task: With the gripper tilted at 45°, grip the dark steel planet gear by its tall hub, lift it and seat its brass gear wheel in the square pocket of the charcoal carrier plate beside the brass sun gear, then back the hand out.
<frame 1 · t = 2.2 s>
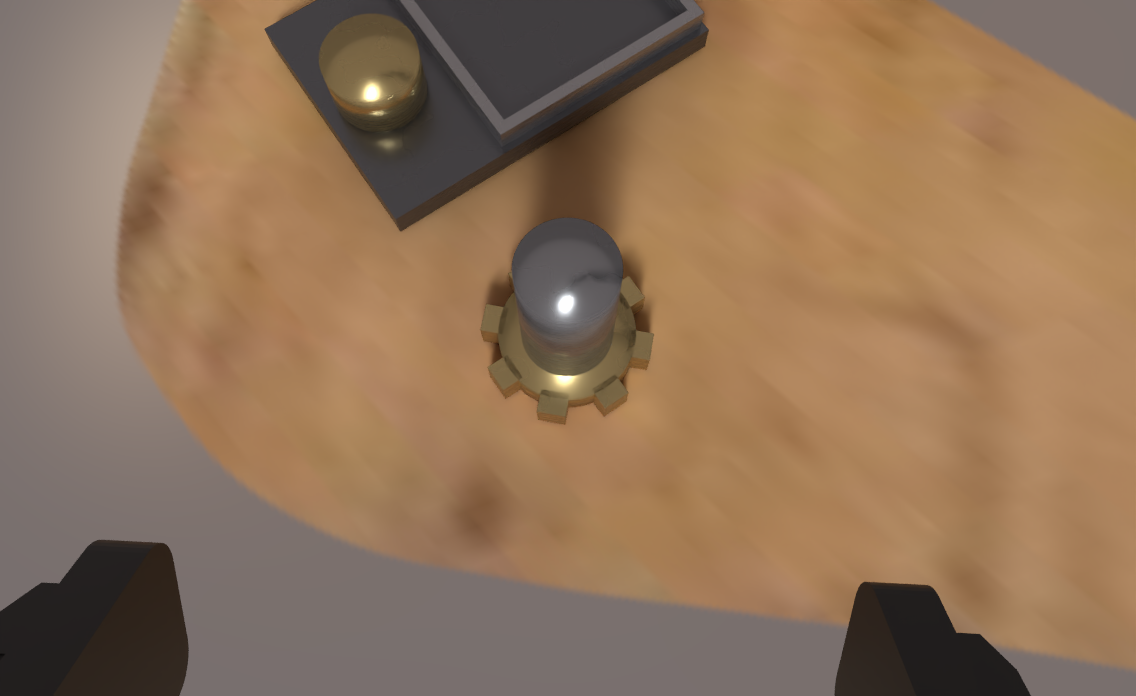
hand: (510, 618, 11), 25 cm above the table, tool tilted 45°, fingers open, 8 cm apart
planet gear: (567, 342, 38), on the table
carrier: (488, 46, 42), on the table
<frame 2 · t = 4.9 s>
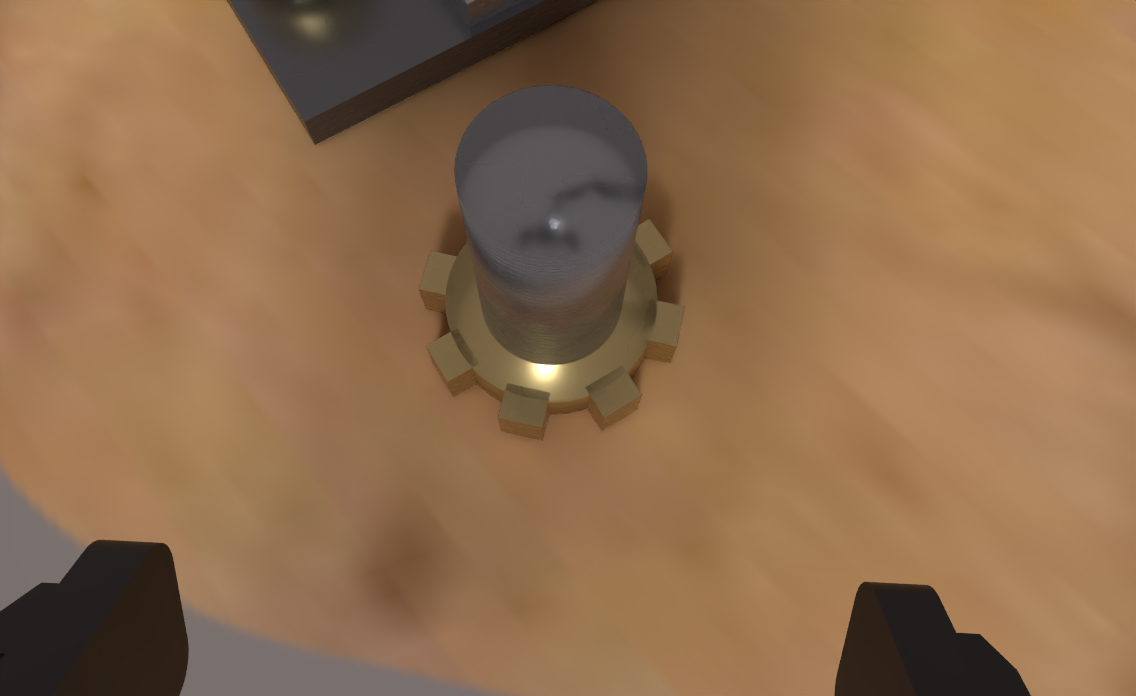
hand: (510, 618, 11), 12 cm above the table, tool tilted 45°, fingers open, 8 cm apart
planet gear: (551, 316, 25), on the table
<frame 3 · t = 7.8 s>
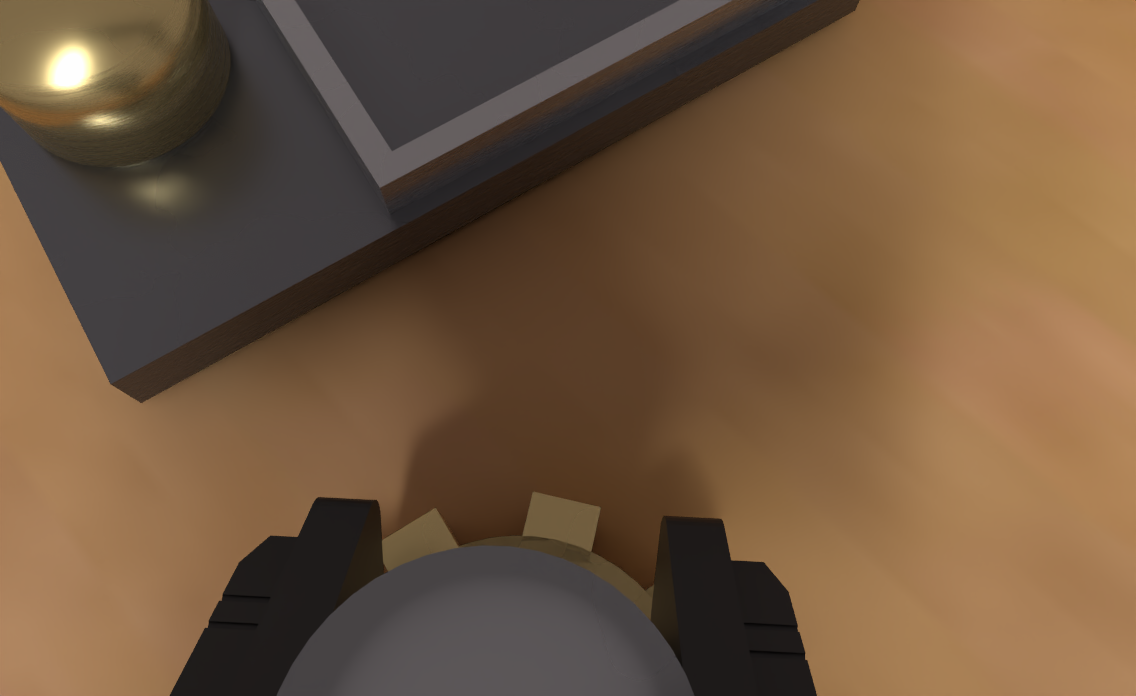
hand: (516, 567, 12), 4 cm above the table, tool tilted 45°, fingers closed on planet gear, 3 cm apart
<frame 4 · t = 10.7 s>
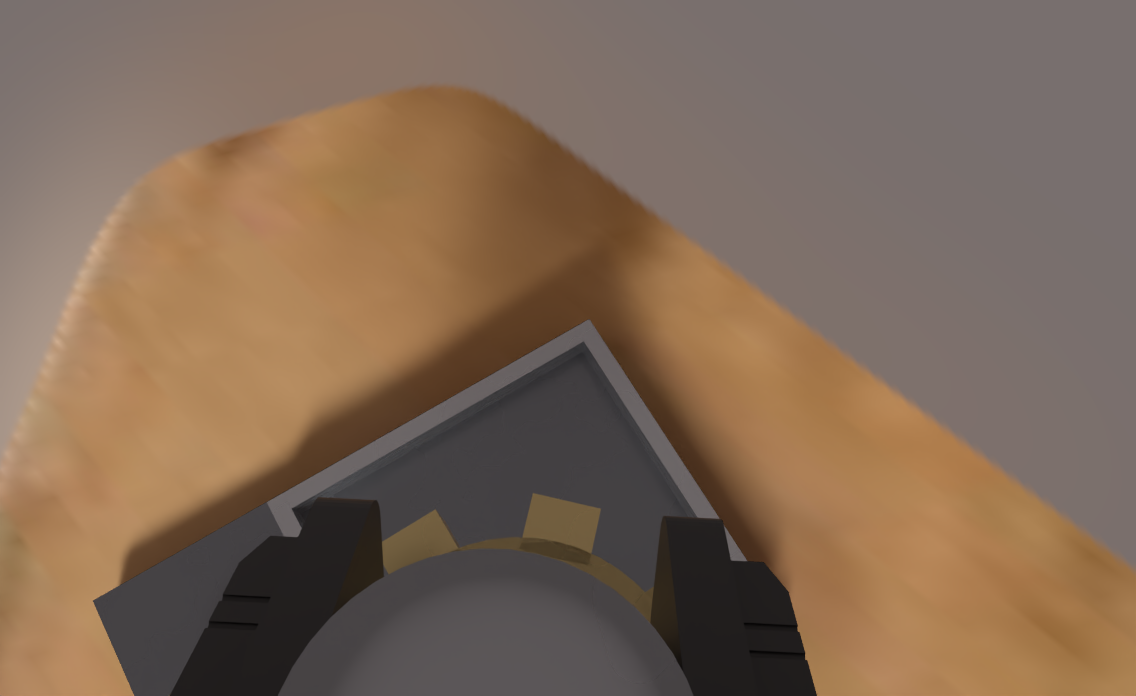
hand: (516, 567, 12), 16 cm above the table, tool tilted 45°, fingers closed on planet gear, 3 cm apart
carrier: (450, 622, 27), on the table
when the fingers open (6 cm above the table, at t = 14.0 s): planet gear drops 1 cm, resting on carrier.
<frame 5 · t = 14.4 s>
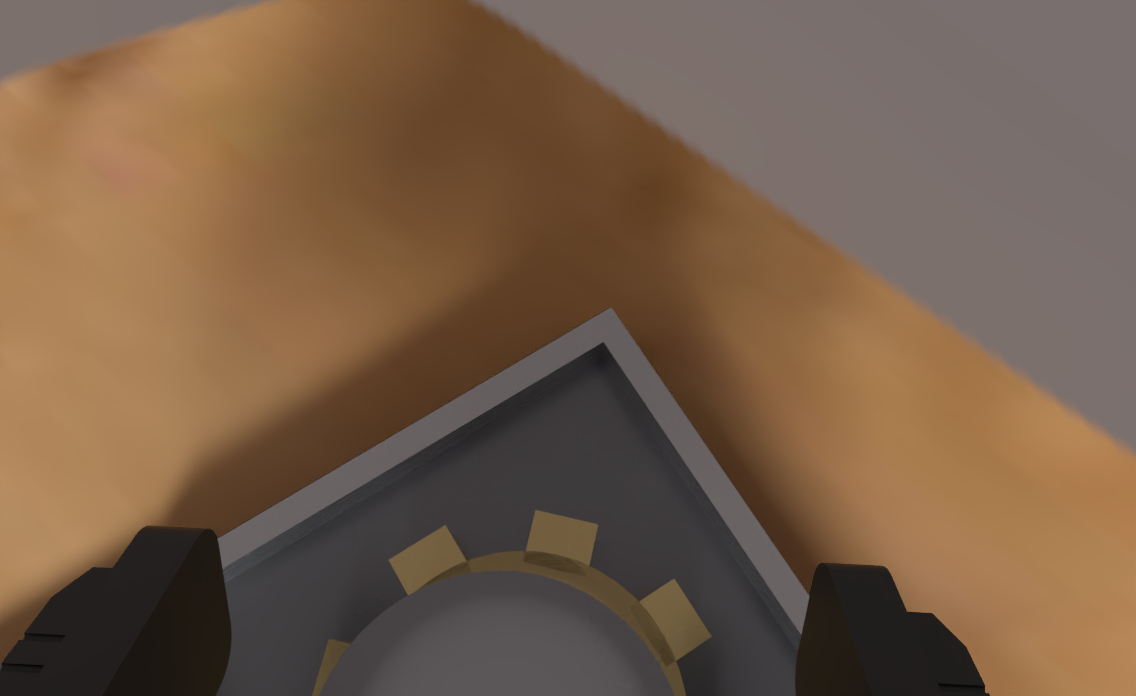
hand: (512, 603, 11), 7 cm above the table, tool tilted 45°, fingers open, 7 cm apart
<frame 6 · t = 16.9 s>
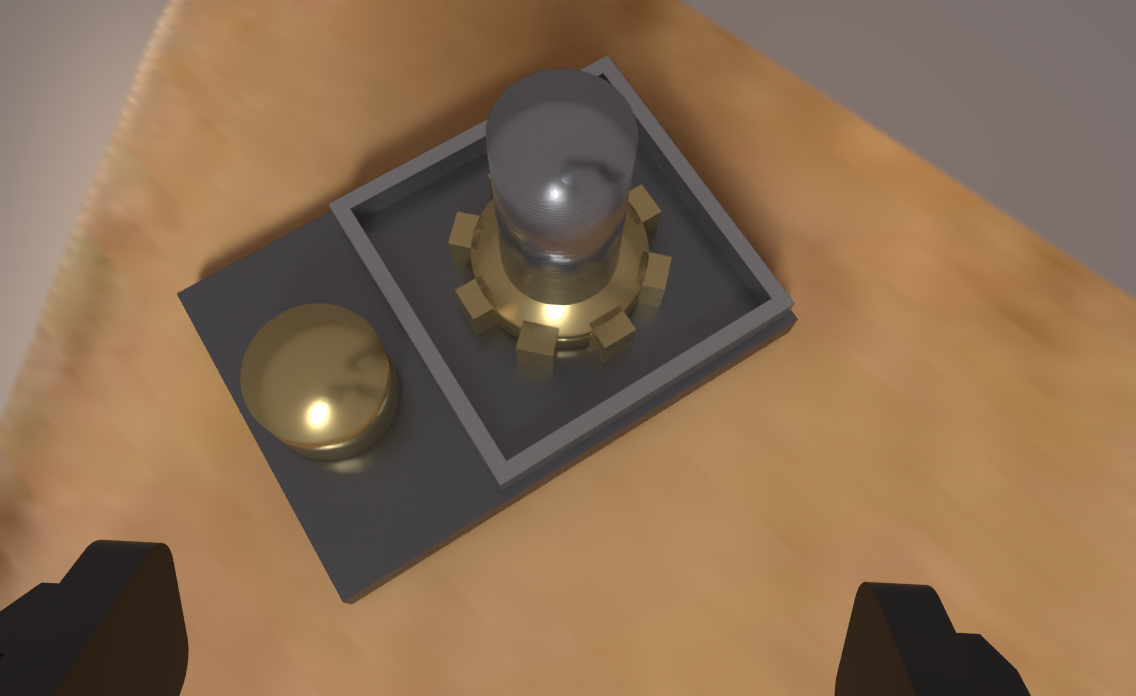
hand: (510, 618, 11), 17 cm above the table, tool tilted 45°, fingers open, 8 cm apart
planet gear: (559, 268, 29), point 1 cm above the table, touching carrier
carrier: (490, 319, 30), on the table
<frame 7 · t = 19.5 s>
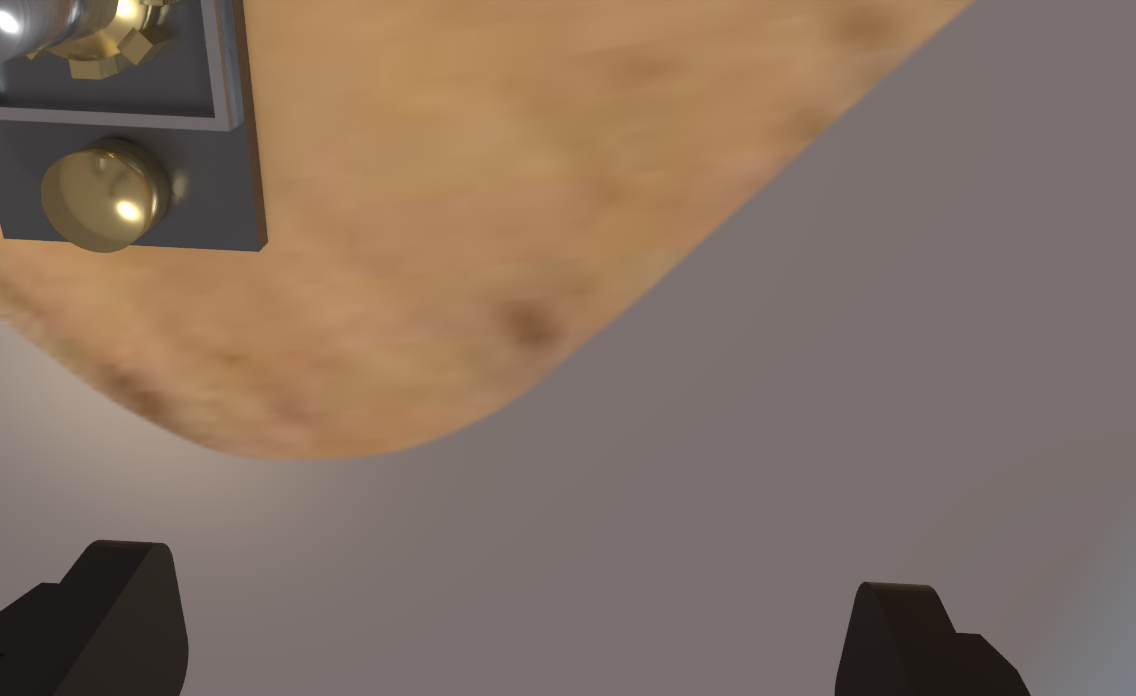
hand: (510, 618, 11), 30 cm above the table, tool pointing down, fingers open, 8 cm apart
carrier: (112, 47, 37), on the table
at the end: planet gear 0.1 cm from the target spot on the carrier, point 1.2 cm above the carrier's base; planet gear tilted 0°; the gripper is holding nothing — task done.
